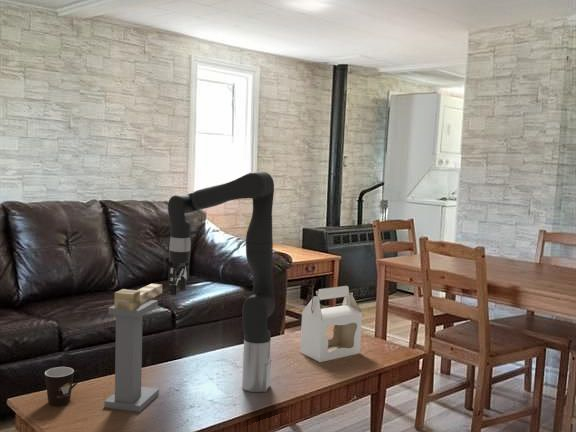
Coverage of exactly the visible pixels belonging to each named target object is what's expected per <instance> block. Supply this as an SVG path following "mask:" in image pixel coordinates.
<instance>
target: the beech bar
mask: <svg viewBox="0 0 576 432" xmlns="http://www.w3.org/2000/svg"><path fill="white" fill-rule="evenodd" d="M162 294H163V284H159V283H150V284H148V285H145V286H143V287H141V288H139V289H136V290H135V289H127V288H122V289H120V290H118V291H117V290H116V291H114V304H113V306H114V309H124V310H134V309H136V308H138V307H140V304H142V303H144V302H146V301H148V300H153V299H154V298H156V297H157V296H159V295H162Z"/></svg>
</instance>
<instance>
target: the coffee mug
mask: <svg viewBox="0 0 576 432" xmlns="http://www.w3.org/2000/svg"><path fill="white" fill-rule="evenodd" d="M82 372H83V371H81V370H78V369H76V370H74V368H72V367H67V366H58V367H51V368H49V369H47V370H45V372H44V377H45V378H44V379H45V386H46V395H47V403H48V405H49V406H50V407H63V406H66V405H68V404H70V403H71V396H72V390H73V389H74V388H75V387H76V386H77V385H78V384H79V382H80V380H81V379H82V377H83V373H82ZM76 373H79V378H78V379H77V380H76V382H74V384H73V380H74V374H76Z"/></svg>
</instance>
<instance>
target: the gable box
mask: <svg viewBox="0 0 576 432" xmlns="http://www.w3.org/2000/svg"><path fill="white" fill-rule="evenodd" d="M315 295H316V296H313V297H312V298H311V300H310V301H309V302H308V304H307V305H306V306H305V307H304V308H303V310H302V311H301V324H300V325H301V326H300V327H301V329H300V331H301V332H300V346H299V353H300V354H302V355H305V356H306V357H308V358H310V359H312V360H315V361H317V362H318V363H323V362H326V361H328V362H329V361H331V360H337V359H340V358H341V359H342V358H345V357H350V356H353V355H358V354H361V338H362V337H361V335H362V319H363V313H362V310H361V309H360V306H359V305H358V303H357V301H356V298H355V297H354V295H353V292H351V291H350V289H349V286H348V285H340V286H333V287H325V288H319V289H318V290H315ZM336 298H343V301H342V303H341V305H337V306H330V307H324V308H322V307H321V301H322V300H330V299H331V300H332V299H336ZM330 327H333V337H332V338H331V339H328V336H327V335H328V334H327V332H328V329H329V328H330Z"/></svg>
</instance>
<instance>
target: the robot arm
mask: <svg viewBox="0 0 576 432" xmlns="http://www.w3.org/2000/svg"><path fill="white" fill-rule="evenodd" d="M274 195H275V182H274V178H273V177H272V175H271V174H270V173H268V172H267V171H251V172H248V173H246V174H244V175H242V176H240V177H238V178H236V179H233V180H231V181H228V182H226V183H222V184H217V185H212V186H209V187H204V188H201V189H198V190H195V191H193V192H191V193H185V194H174V195H172V196H171V197H170V198H169V201H168V203H167V214H168V217H169V222H170V227H171V228H170V240H169V251H168V254H169V255H168V261H169V262H170V263H171V264H172V267H168V272H167V275H168V277H167V284H168V285H170V294H169V295H170V296H178V295H177V294H178V293H177V292H178V283H179V291H186V288H187V287H186V286H187V279H188V278H189V277H190V261H191V229H192V227H191V223H190V221H188V220H186V215H185V214H191V213H195V212H197V211H200V210H204V209H209V208H212V207H216V206H219V205H222V204H225V203H228V202H230V201H234V200H243V199H244V200H245V199H246V200H247V199H251V200H252V214H251V219H250V221H249V225H248V228H247V231H246V236H245V256H246V257H245V258H246V260H247V261H246V262H247V264H248V267H249V270H250V272H251V275H252V295H250V296H248V297H247V298H245V300H244V301H243V304H242V308H241V309H242V310H241V313H242V314H241V316H242V317H241V318H242V319H241V320H242V321H241V322H242V323H241V324H242V326H241V327H242V328H241V329H242V333H243V355H242V356H243V358H242V382H241V383H242V384H241V385H242V389H243V390H244V391H246V392H250V393H262V392H263V393H267V391H268V390H269V388H270V387H271V378H272V377H271V375H272V374H271V373H272V360H271V359H270V358H271V336H272V334H271V331H270V330H269V329H268V318H269V317H270V316H271V315H273V313H274V312H275V308H276V299H275V291H274V281H273V279H274V278H273V271H274V270H273V266H274V265H273V260H274V259H273V255H274V254H273V253H274V249H273V248H274V245H273V242H274V241H273V205H274Z"/></svg>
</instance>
